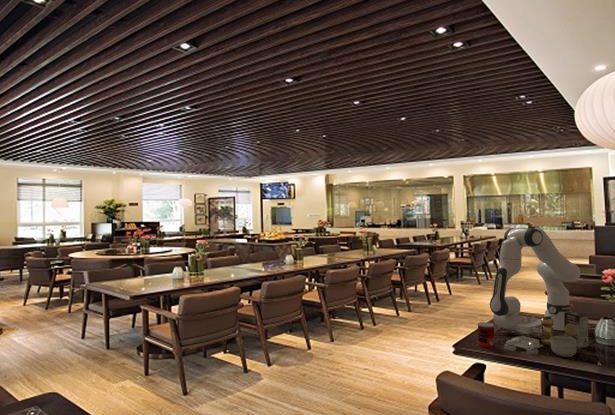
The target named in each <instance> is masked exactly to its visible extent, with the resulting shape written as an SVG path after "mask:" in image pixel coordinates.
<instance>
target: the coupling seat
mask: <svg viewBox="0 0 615 415" xmlns="http://www.w3.org/2000/svg"><path fill="white" fill-rule="evenodd" d="M526 340H530V341H531V342H532V343H533V344H534V345H535V347H536V349H539V348H541V347H545V345H543V344H541V343H540V340H539V339H538V338H533V337H529V336H526V335H519V336H515V337H512V338H511V339H508V340H506V341H505V344H503V349H505V350H507V351H510V352H511V351H512V352H514V351H517V348H522V349H524V350H526V348H530V347H529V346H528V345H527V344H526Z"/></svg>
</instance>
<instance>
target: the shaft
mask: <svg viewBox="0 0 615 415" xmlns="http://www.w3.org/2000/svg"><path fill="white" fill-rule="evenodd" d="M526 344H527V345H528V346H529V347H530V348H526V349H525V350H526V353H527V354H528V355H537V356H538V355H539V350H538V348H536V347H535V345H534V344H533V343H532V342H531V341H530V340H526Z"/></svg>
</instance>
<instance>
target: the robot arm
mask: <svg viewBox="0 0 615 415" xmlns="http://www.w3.org/2000/svg"><path fill="white" fill-rule="evenodd" d="M553 242H554V241H552V239H551V237H550V236H549V235H548V234H547V233H546V232H545V230H543V229H542V228H540V227H525V226H523V227H511V228H508V229H507V230H505V232H504V235H503V241H502V243H501V247H500V252H499V263H498V264H499V265H498V268H497V270H496V273H495V277H494V284H493V291H492V296H491V299H490V301H489V308H490V310H491V312H492V313H493V316H492V319H493V321H494V323H495V324H496V325H497V326H498V327H501V328H504V329H508V330H513V331H515V332H519V333H522V334H526V335H530V334H533V333H535V334H543V325H541V318H536V317H535V316H531V315H530V316H527V315H520V312H521V307H522V306H521V302H520V300H519V299H518V297H516V296H513V295H512V296H506V292H507V285H508V281H509V280H511V278H512V277H513V276H515V275H517V274H518V273H520V271H521V268H522V256H523V255H522V250H523V248H531V249H532V251H533V252H534V254H535V255H536V257H537V258H538V259H537V260H539V261H540V262H538V264H537V266H536V271H537V273H538V275H539V276H540V277H541V278H542V280H543V282H544V284H545V287H546V293H547V302H546V310H545V311H544V317H545V316H551V319H553V326H552V331H554V330H556V331H562V332H563V331H564V312H570V311H572V309H573V308H574V304H572V303H570V291H569V289H568V288H567V287H566V286H565V285H564V283H563V282H566V283H567V282H568V283H569V282H570V283H571V282H576V281H578V280H579V279H580V278H581V273H582V272H581V269H580V267H579V266H578V265H576V264H574V263H573V262H571V261H570V260H569V259H567V258H566V257H565V256H564V255H563V254H562V253H561V252H560V251H559V250H558V248H557V247H556V246H555V244H554V243H553Z"/></svg>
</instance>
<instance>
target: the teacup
mask: <svg viewBox="0 0 615 415" xmlns="http://www.w3.org/2000/svg"><path fill="white" fill-rule="evenodd" d="M550 340H551V346H550V348H551V351H552V352H553V353H554V354H555V355H556V356H559V357H561V358H562V357H563V358H572V357H573V356H574V355H576V353H577V349H578V347H577V346H576V339H574V338H572V337H570V336H569V337H566V336H563V335H555V336H554V335H552V337H550Z"/></svg>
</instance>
